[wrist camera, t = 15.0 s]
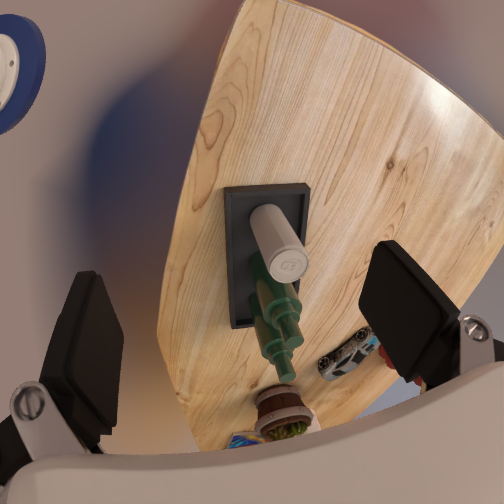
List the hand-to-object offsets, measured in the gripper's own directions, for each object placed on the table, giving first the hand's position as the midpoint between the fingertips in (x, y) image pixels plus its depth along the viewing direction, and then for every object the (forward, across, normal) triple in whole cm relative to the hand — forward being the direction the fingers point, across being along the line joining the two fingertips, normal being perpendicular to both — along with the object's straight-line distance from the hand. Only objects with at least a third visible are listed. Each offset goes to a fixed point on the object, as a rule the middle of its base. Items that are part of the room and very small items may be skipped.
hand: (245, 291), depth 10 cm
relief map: (+30, -5, +104) cm, 108 cm away
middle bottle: (+29, -8, +21) cm, 37 cm away
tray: (+30, -8, +21) cm, 37 cm away
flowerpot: (+30, -13, +65) cm, 73 cm away
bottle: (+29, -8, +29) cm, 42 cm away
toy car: (+30, -30, +50) cm, 66 cm away
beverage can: (+30, -8, +13) cm, 33 cm away
